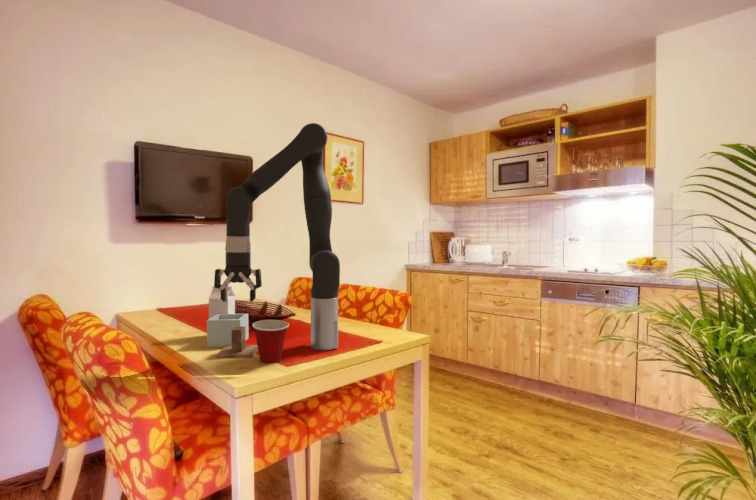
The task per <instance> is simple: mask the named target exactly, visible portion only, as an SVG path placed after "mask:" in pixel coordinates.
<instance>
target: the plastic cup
mask: <svg viewBox="0 0 756 500" xmlns="http://www.w3.org/2000/svg"><path fill="white" fill-rule="evenodd" d="M251 324H252V328H253V331H254V335H255V340H256V345H257V346H258V350H257V352H258V355H259V361H260V362H261V363H263V364H275V363H276V364H277V363H278V362H280V361H281V360H282V354H283V350H284V346H285V338H286V334H287V331H288V329H289V326H290V323H289V321H288V322H287V321H285V320H282V319H261V320H258V321H257V320H256V321H255V322H253V323H251Z"/></svg>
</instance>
